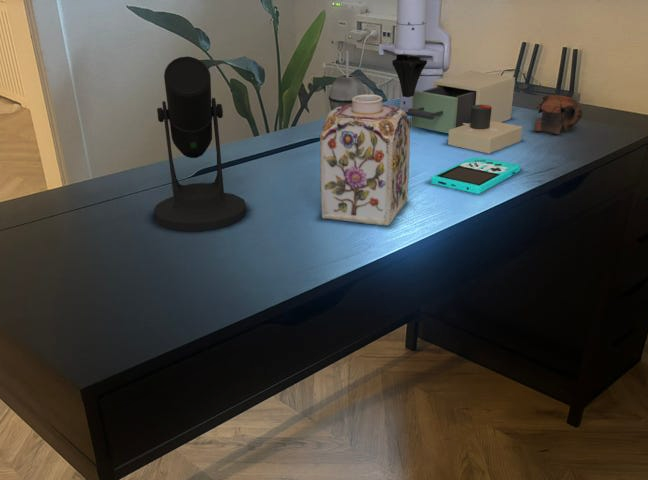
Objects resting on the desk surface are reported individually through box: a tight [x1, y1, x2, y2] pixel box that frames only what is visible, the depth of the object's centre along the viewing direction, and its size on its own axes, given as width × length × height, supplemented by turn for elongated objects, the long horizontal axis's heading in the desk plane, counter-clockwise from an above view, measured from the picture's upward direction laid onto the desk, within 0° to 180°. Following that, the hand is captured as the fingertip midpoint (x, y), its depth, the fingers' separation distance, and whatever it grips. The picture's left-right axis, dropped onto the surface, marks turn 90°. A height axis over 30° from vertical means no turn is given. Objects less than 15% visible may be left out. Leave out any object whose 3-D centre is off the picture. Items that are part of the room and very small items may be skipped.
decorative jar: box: [319, 94, 412, 227], centre depth 116 cm, size 12×12×18 cm
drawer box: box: [433, 70, 516, 123], centre depth 167 cm, size 14×12×9 cm
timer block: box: [447, 121, 523, 155], centre depth 153 cm, size 11×12×3 cm
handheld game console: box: [430, 157, 521, 195], centre depth 134 cm, size 10×16×1 cm, turn 141°
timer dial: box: [470, 105, 492, 129], centre depth 152 cm, size 4×4×4 cm
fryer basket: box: [407, 86, 477, 135], centre depth 160 cm, size 18×11×7 cm, turn 136°
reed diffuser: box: [328, 50, 367, 111], centre depth 141 cm, size 7×7×20 cm
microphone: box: [153, 56, 247, 232], centre depth 114 cm, size 15×17×25 cm
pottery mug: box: [534, 94, 583, 135], centre depth 160 cm, size 12×10×8 cm
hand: (408, 96), depth 150 cm, fingers closed
